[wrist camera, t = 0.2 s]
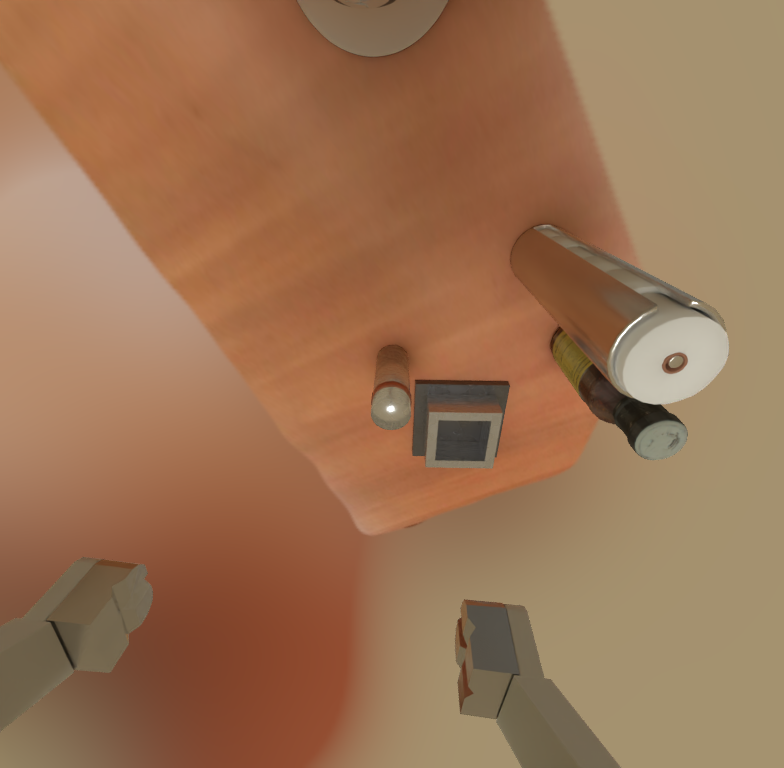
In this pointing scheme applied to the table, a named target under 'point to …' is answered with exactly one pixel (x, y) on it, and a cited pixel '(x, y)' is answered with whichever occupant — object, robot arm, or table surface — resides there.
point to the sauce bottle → (619, 404)
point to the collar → (458, 422)
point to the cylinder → (391, 389)
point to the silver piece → (623, 316)
